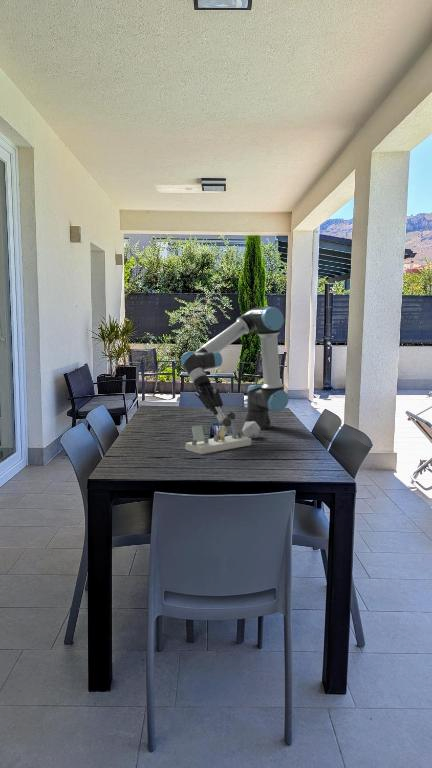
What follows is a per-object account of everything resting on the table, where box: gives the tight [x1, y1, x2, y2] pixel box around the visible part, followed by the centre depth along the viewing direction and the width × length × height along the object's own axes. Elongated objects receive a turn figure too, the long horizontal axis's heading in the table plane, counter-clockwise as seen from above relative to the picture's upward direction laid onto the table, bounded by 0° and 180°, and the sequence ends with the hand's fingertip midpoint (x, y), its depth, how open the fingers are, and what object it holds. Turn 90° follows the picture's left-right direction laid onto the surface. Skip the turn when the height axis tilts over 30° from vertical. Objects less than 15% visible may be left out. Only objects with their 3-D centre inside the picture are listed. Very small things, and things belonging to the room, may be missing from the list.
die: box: [241, 421, 262, 439], centre depth 273 cm, size 8×9×10 cm
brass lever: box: [217, 417, 232, 440], centre depth 247 cm, size 4×4×12 cm
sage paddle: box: [190, 425, 205, 442], centre depth 244 cm, size 1×5×7 cm, turn 131°
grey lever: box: [226, 411, 239, 436], centre depth 259 cm, size 4×4×12 cm
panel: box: [184, 431, 252, 455], centre depth 250 cm, size 11×30×5 cm, turn 130°
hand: (222, 419), depth 246 cm, fingers closed
